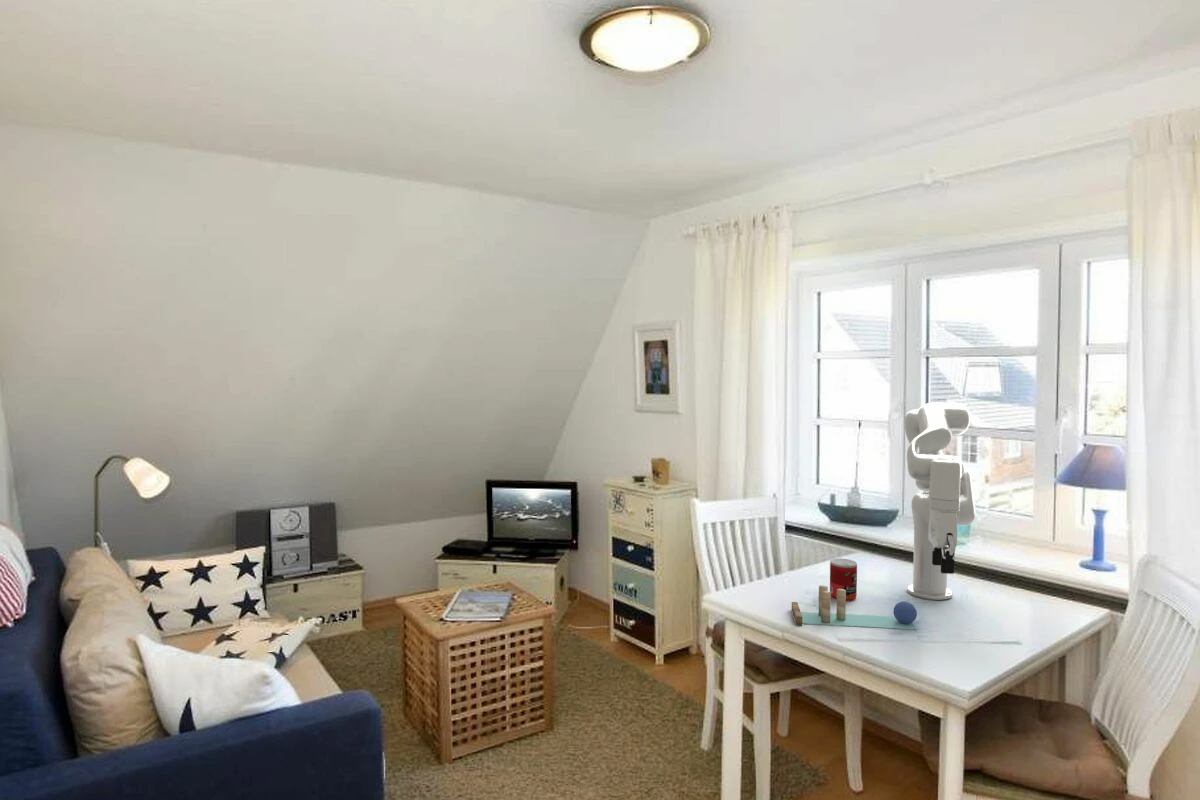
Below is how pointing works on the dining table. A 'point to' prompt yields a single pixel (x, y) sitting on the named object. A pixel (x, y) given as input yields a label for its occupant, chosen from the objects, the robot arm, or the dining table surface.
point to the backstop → (797, 613)
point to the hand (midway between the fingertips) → (942, 568)
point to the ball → (905, 612)
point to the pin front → (841, 604)
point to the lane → (857, 621)
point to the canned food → (843, 578)
